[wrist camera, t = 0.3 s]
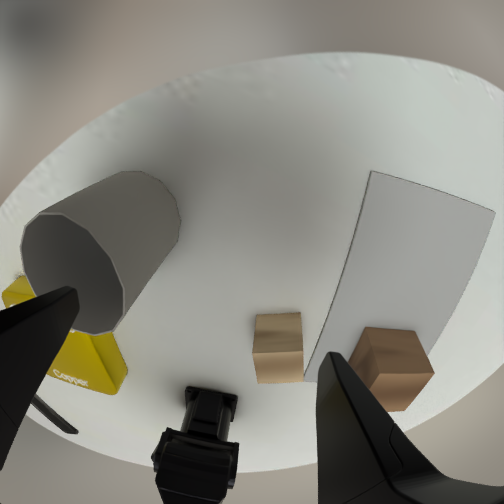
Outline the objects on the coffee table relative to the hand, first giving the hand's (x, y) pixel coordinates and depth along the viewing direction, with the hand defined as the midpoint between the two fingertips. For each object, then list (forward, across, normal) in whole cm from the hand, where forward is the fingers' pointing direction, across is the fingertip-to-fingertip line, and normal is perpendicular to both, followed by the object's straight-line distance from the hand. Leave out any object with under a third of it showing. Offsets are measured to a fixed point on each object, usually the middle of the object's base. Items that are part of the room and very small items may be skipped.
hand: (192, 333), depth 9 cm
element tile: (+15, +19, +20) cm, 32 cm away
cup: (+14, +9, +3) cm, 17 cm away
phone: (+16, +36, +57) cm, 69 cm away
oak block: (+14, -6, +11) cm, 19 cm away
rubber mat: (+14, -16, +6) cm, 23 cm away
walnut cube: (+14, -17, +11) cm, 25 cm away
